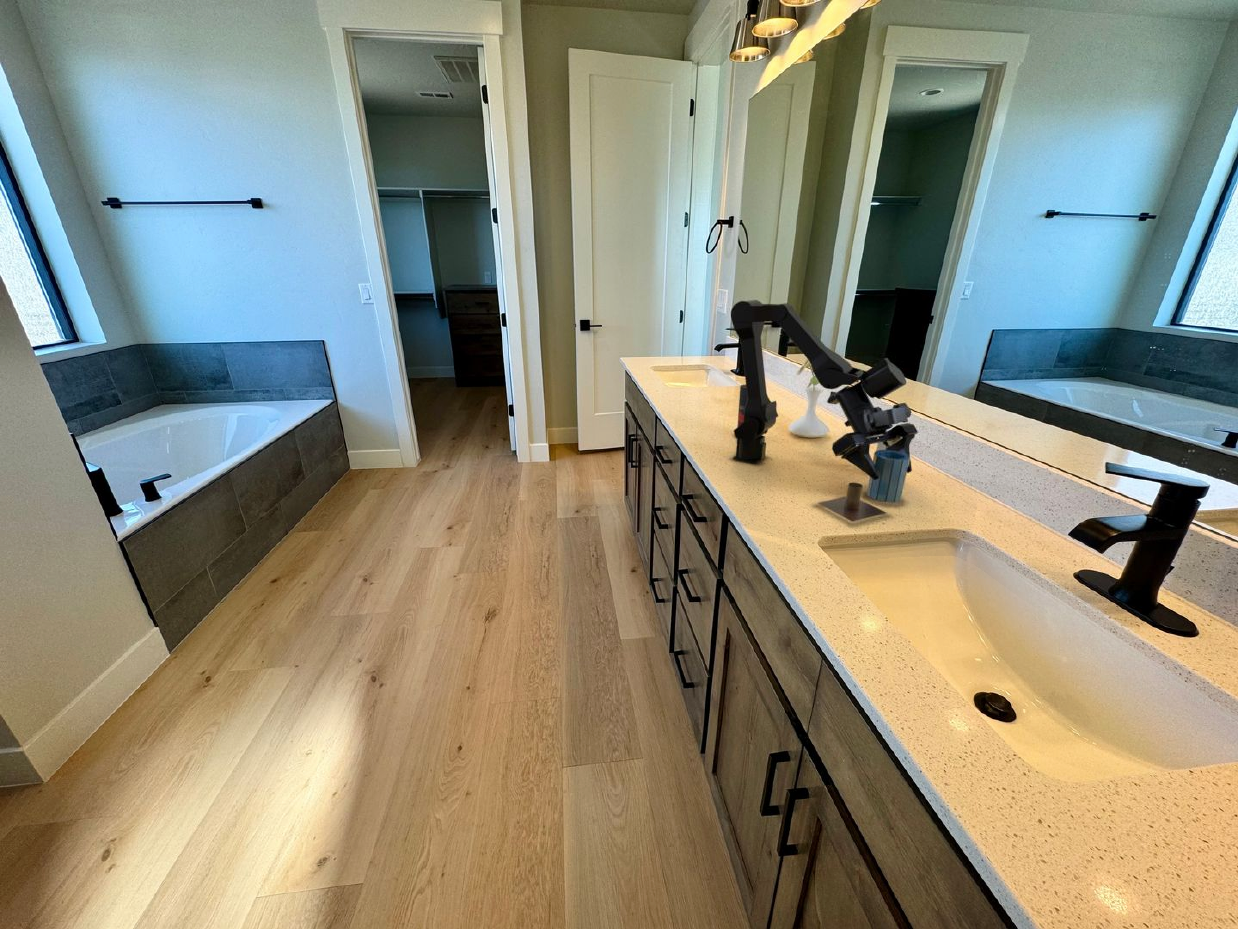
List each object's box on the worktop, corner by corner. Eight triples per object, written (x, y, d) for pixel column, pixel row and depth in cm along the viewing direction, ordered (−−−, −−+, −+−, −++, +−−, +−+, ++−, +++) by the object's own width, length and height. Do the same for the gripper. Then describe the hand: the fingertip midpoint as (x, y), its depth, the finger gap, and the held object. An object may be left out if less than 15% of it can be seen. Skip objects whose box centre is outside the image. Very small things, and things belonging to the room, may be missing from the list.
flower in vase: (799, 427, 154) (809, 345, 145) (835, 434, 146) (848, 349, 137) (777, 436, 145) (786, 350, 136) (814, 444, 138) (826, 354, 129)
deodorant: (759, 439, 143) (764, 388, 137) (739, 439, 143) (742, 388, 137) (754, 433, 148) (758, 384, 143) (734, 433, 148) (738, 384, 143)
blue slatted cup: (863, 500, 104) (871, 456, 100) (870, 490, 108) (878, 447, 105) (897, 508, 100) (906, 462, 97) (902, 497, 105) (912, 453, 101)
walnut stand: (817, 506, 102) (820, 480, 99) (849, 498, 105) (854, 473, 103) (851, 525, 94) (856, 497, 92) (886, 516, 97) (891, 489, 95)
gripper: (851, 394, 96) (889, 465, 91) (919, 386, 103) (958, 451, 97) (817, 423, 106) (849, 488, 100) (880, 413, 113) (914, 474, 107)
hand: (893, 475), depth 101 cm, fingers open, 9 cm apart
